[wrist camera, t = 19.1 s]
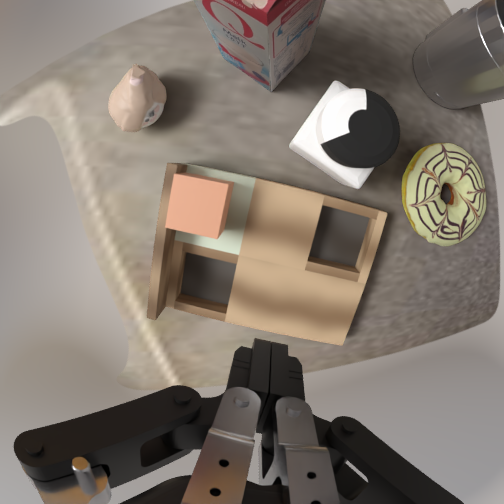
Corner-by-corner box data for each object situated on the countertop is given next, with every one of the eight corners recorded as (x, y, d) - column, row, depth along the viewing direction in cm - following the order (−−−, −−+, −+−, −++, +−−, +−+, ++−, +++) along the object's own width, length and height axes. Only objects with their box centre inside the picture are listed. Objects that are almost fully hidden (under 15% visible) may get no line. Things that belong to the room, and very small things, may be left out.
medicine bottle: (376, 134, 30) (425, 121, 19) (342, 185, 32) (377, 196, 21) (323, 95, 30) (348, 60, 18) (287, 147, 31) (295, 136, 20)
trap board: (185, 163, 33) (167, 163, 27) (379, 209, 32) (399, 218, 27) (164, 295, 37) (146, 317, 31) (338, 334, 37) (347, 362, 31)
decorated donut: (445, 256, 33) (461, 267, 30) (378, 206, 33) (390, 212, 29) (485, 182, 30) (504, 186, 26) (422, 125, 30) (439, 122, 26)
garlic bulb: (181, 117, 31) (155, 105, 24) (132, 141, 32) (97, 137, 25) (163, 69, 30) (135, 47, 22) (116, 94, 31) (80, 81, 23)
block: (186, 172, 30) (174, 173, 27) (234, 182, 30) (228, 184, 27) (177, 219, 32) (165, 227, 28) (224, 230, 32) (217, 239, 28)
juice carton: (271, 92, 30) (264, -21, 9) (223, 58, 29) (156, -65, 8) (309, 51, 28) (351, -80, 7) (262, 19, 27) (245, -120, 6)
